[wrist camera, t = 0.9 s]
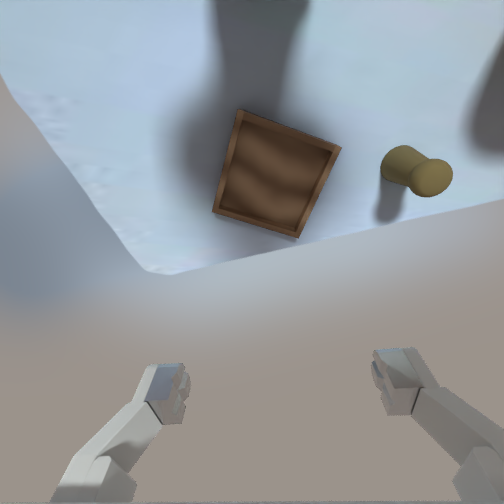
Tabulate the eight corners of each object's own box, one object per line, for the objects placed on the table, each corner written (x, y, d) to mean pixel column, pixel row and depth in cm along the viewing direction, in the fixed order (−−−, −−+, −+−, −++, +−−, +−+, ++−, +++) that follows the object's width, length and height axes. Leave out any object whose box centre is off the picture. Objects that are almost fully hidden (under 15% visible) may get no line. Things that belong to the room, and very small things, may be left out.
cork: (420, 172, 44) (463, 191, 34) (384, 187, 45) (416, 210, 36) (414, 138, 41) (460, 149, 32) (376, 155, 43) (409, 171, 33)
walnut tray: (239, 108, 40) (237, 109, 37) (336, 144, 42) (341, 147, 39) (214, 205, 48) (211, 211, 46) (296, 231, 50) (298, 238, 48)
